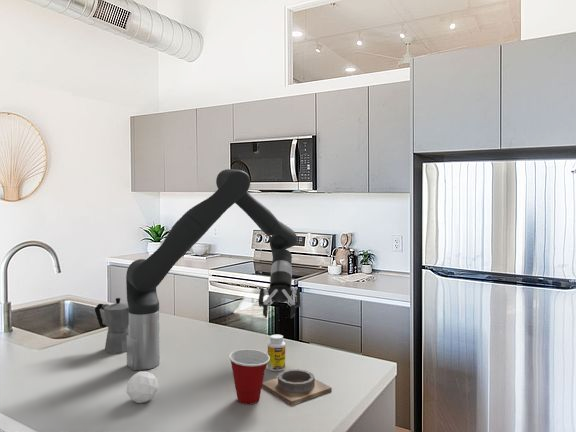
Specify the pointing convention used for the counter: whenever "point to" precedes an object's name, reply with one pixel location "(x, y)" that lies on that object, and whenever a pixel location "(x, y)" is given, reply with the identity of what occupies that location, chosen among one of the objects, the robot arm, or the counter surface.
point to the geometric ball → (142, 387)
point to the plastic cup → (248, 373)
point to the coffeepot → (115, 325)
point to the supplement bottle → (276, 353)
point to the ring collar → (296, 386)
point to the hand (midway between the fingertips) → (278, 316)
